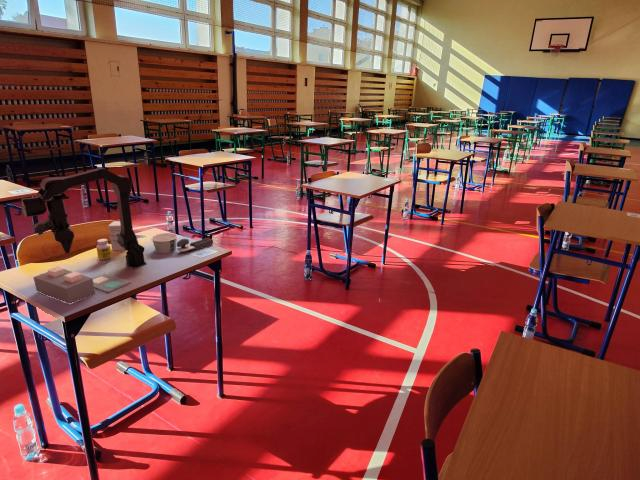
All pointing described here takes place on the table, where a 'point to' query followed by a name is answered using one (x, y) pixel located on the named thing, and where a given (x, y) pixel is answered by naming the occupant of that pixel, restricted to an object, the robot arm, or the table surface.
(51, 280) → the console
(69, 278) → the button
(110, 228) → the white square tower
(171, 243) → the food container
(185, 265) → the table surface
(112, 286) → the pattern card
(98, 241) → the supplement bottle
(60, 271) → the button
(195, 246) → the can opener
